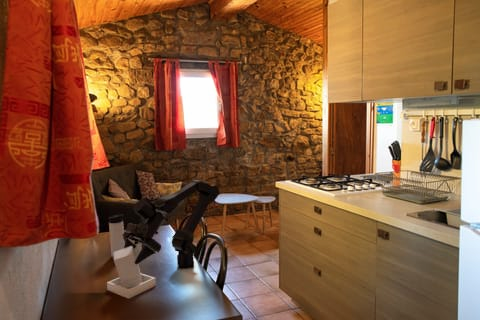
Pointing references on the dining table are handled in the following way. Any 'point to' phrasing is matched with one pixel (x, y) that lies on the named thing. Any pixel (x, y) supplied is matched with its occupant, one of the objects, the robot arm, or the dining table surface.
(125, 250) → the supplement box
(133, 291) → the tray
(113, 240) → the travel mug
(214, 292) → the dining table surface
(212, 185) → the robot arm
